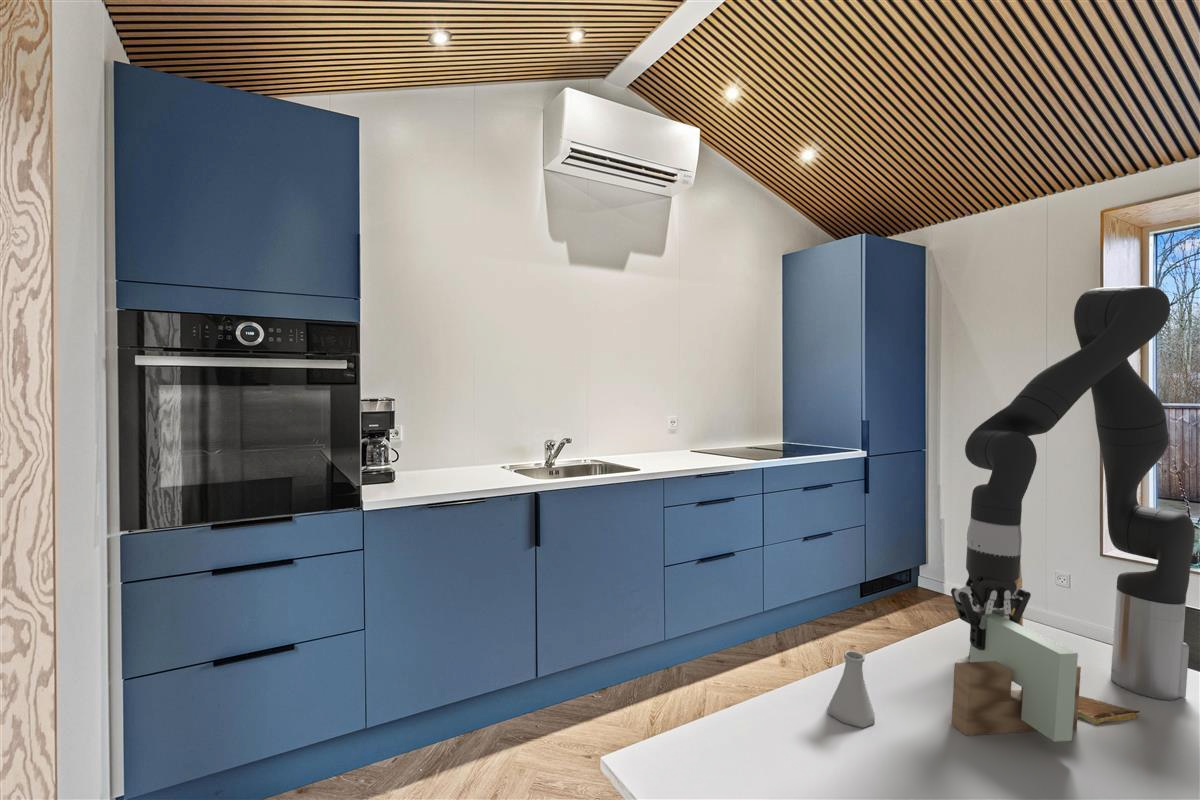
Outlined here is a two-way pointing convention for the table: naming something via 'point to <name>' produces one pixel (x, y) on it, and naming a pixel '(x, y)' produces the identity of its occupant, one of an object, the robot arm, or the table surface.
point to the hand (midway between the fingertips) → (987, 647)
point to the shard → (1103, 711)
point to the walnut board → (991, 700)
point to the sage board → (1034, 674)
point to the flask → (852, 694)
